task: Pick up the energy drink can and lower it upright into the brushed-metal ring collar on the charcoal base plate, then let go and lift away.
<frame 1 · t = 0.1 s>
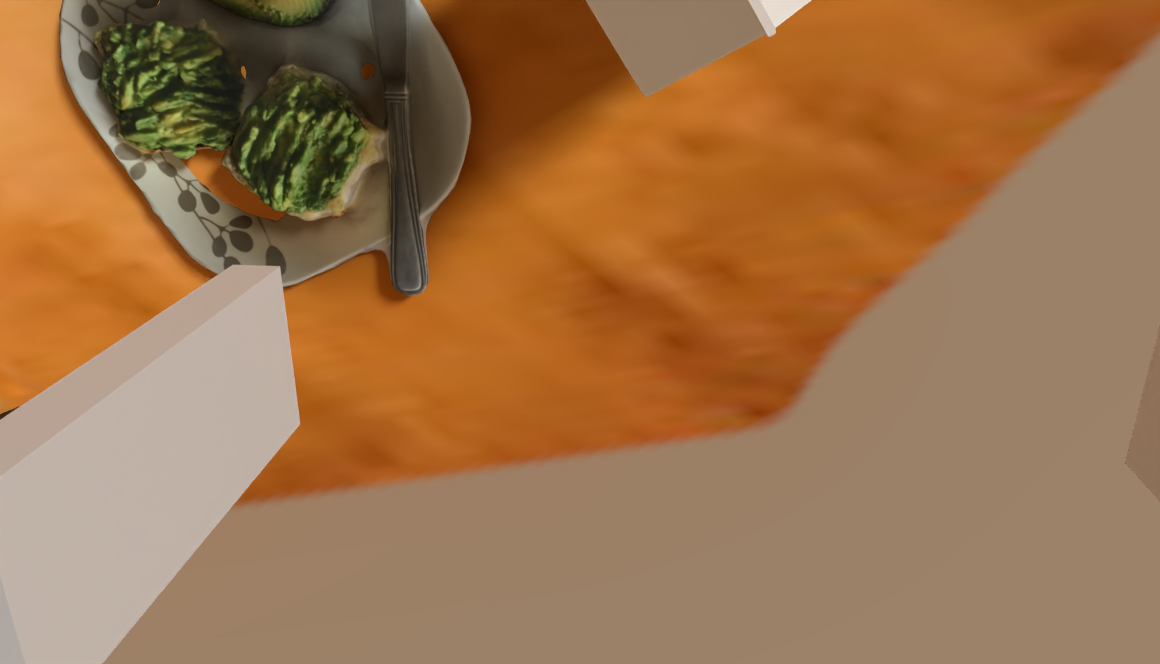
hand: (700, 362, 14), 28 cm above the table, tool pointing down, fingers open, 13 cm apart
salad plate: (281, 72, 41), on the table
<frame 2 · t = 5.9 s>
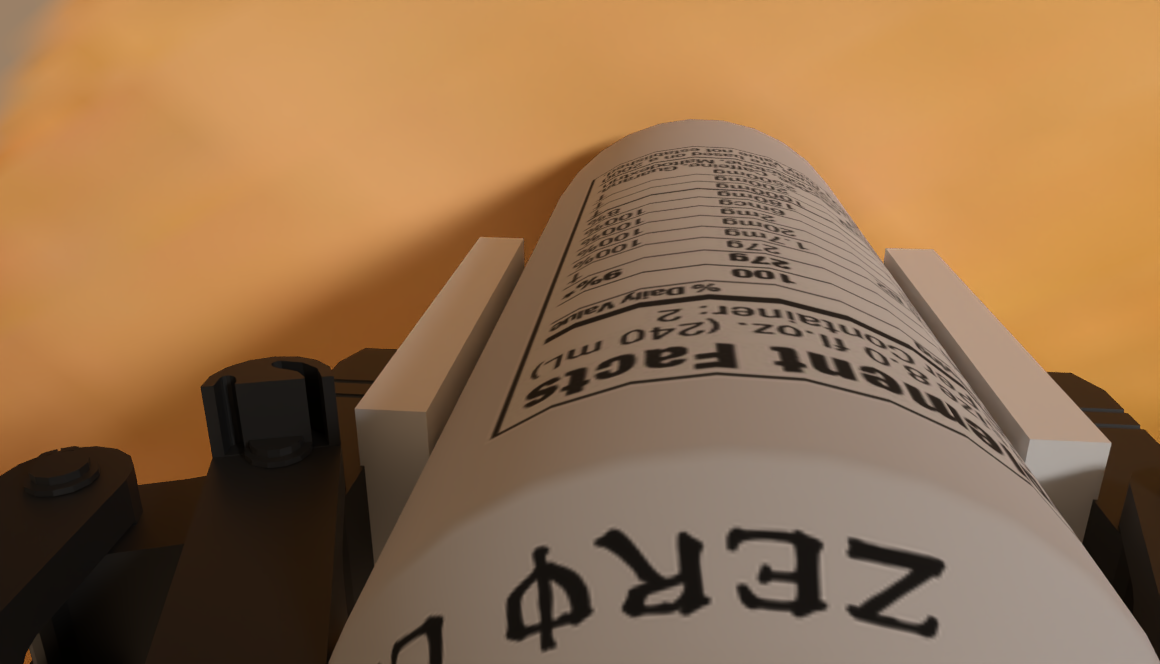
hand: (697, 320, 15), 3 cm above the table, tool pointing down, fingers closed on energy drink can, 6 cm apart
energy drink can: (692, 257, 19), on the table, touching gripper
when the fingers open (6 cm above the table, at t = 12.0 s): energy drink can drops 1 cm, resting on ring collar.
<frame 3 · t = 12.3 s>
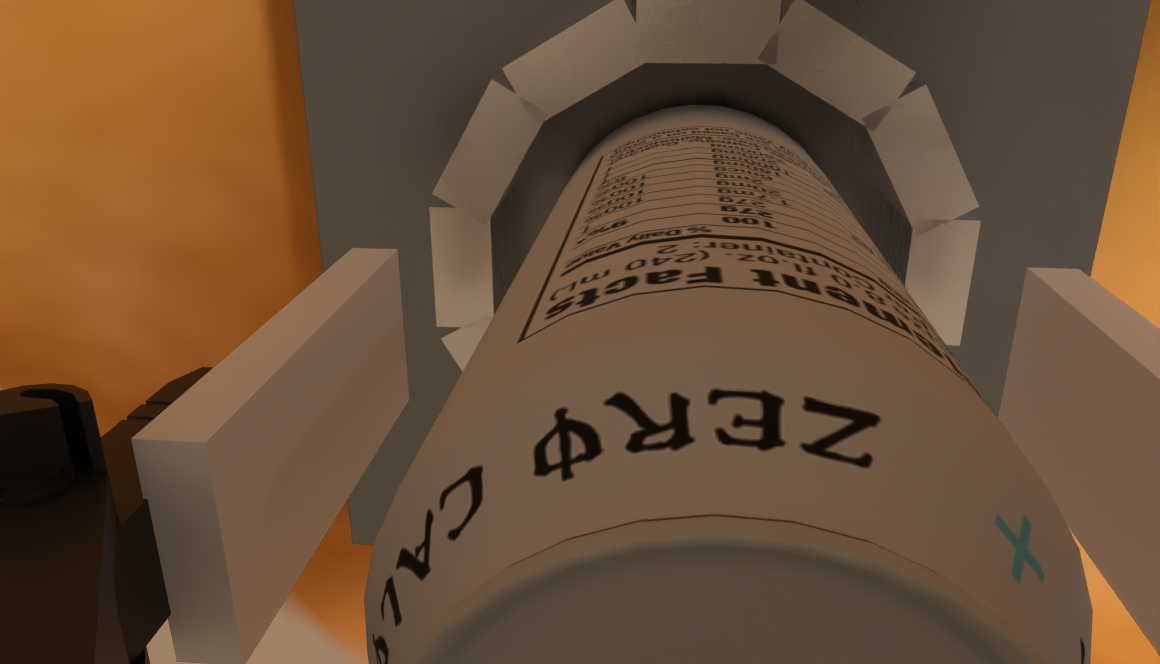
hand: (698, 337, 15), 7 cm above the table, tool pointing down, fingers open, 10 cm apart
energy drink can: (693, 236, 20), point 1 cm above the table, touching ring collar
ring collar: (691, 229, 21), on the table
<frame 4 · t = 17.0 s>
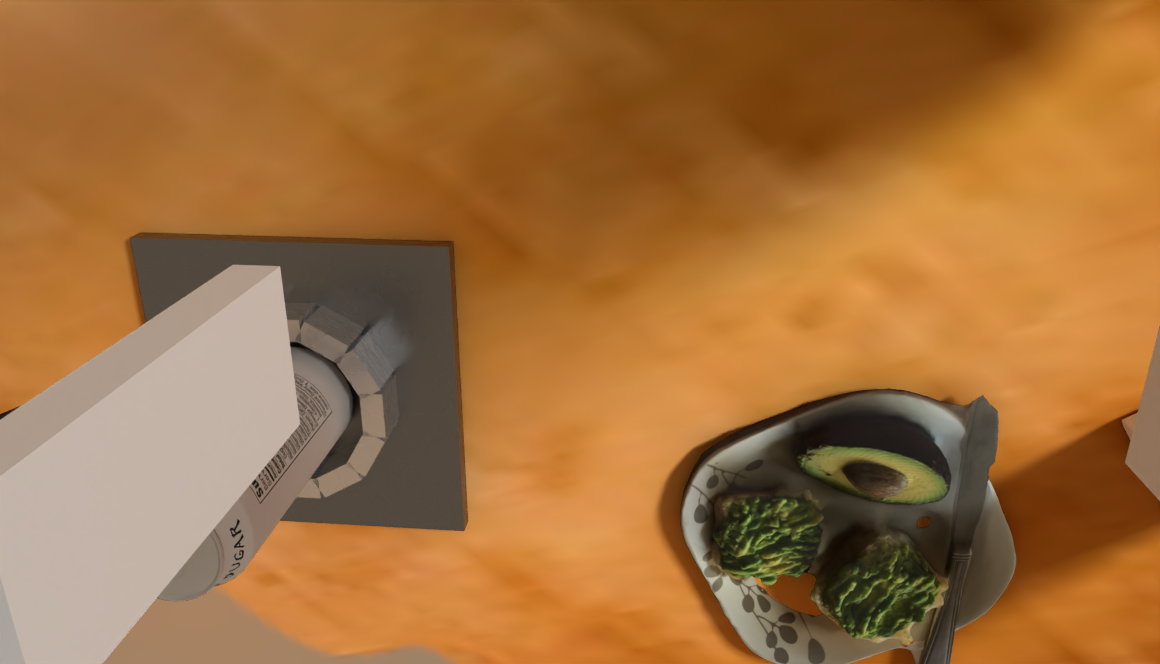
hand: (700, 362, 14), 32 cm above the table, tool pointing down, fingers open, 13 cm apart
salad plate: (844, 514, 51), on the table
energy drink can: (306, 388, 50), point 1 cm above the table, touching ring collar
ring collar: (311, 383, 51), on the table
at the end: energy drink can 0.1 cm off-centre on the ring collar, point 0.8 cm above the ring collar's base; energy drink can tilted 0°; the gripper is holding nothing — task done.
